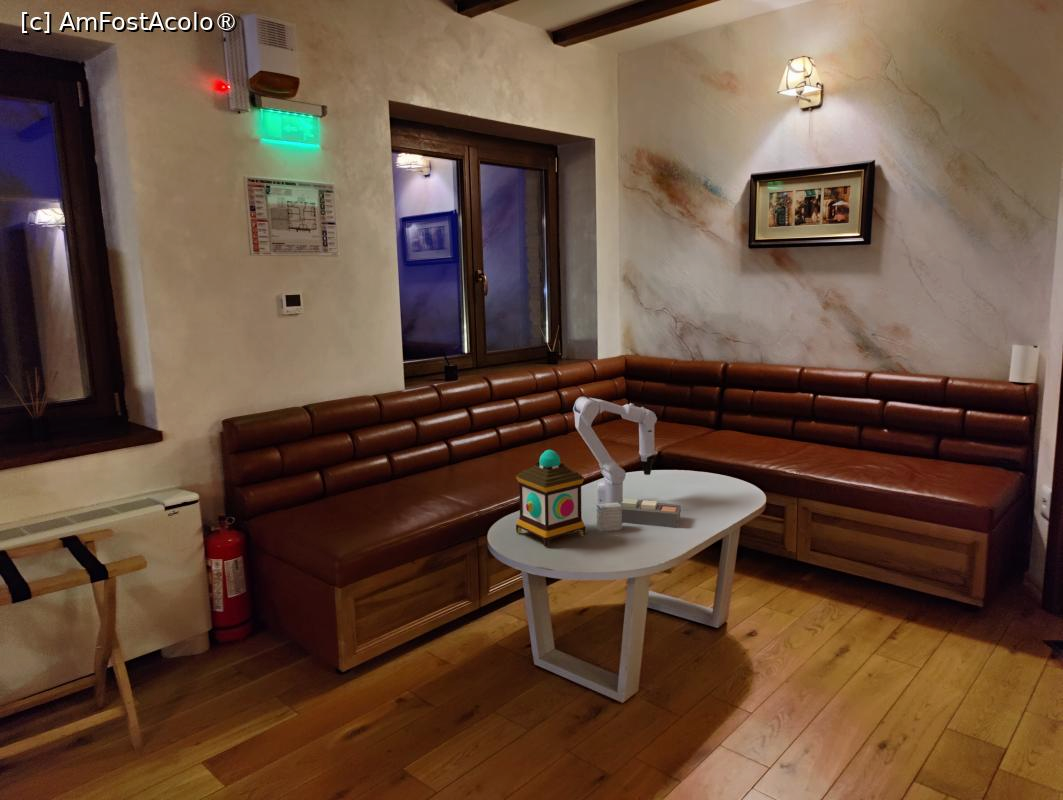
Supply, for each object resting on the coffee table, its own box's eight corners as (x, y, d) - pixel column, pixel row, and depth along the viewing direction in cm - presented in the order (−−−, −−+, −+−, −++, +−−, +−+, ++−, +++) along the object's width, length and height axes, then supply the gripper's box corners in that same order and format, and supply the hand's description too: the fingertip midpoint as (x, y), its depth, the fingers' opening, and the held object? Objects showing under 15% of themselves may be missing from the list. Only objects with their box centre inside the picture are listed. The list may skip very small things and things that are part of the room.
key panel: (617, 522, 262) (617, 508, 261) (622, 513, 272) (622, 500, 271) (676, 527, 256) (677, 513, 255) (680, 518, 265) (680, 504, 264)
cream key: (641, 512, 261) (641, 504, 261) (643, 507, 266) (643, 500, 266) (655, 513, 260) (655, 505, 259) (657, 508, 265) (657, 501, 264)
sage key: (621, 510, 264) (621, 502, 263) (624, 506, 268) (624, 498, 268) (635, 511, 262) (635, 503, 262) (637, 507, 267) (637, 499, 266)
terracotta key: (660, 518, 260) (660, 510, 259) (662, 513, 264) (662, 506, 264) (674, 519, 258) (675, 511, 258) (676, 515, 263) (676, 507, 262)
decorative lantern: (510, 533, 254) (508, 448, 248) (555, 520, 265) (554, 439, 260) (545, 550, 238) (544, 461, 232) (591, 536, 249) (591, 450, 244)
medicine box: (617, 525, 259) (617, 501, 258) (622, 529, 255) (622, 506, 253) (596, 527, 258) (596, 503, 256) (600, 531, 253) (600, 507, 252)
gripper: (653, 445, 273) (654, 480, 276) (660, 436, 287) (660, 469, 289) (635, 444, 276) (635, 479, 278) (642, 435, 289) (643, 468, 292)
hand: (647, 474), depth 284 cm, fingers closed
